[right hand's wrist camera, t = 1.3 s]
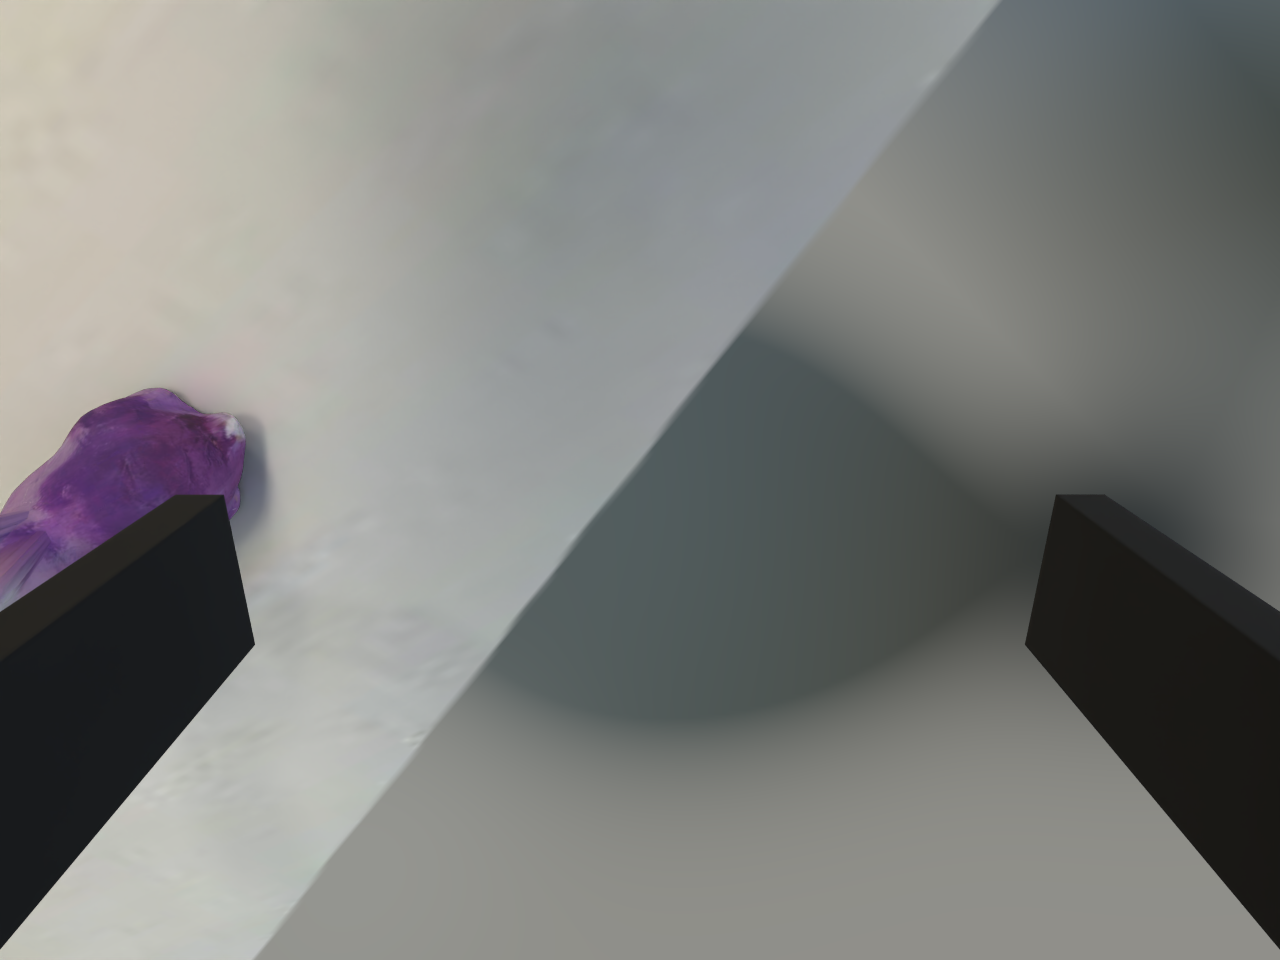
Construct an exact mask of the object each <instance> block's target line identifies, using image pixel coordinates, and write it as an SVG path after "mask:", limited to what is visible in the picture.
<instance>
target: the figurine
mask: <svg viewBox="0 0 1280 960" xmlns="http://www.w3.org/2000/svg"><path fill="white" fill-rule="evenodd" d="M245 445H246V438H245V434H244V431H243V428H242V426H241V424H240V423H239V421H238V420H237V419H236V418H235V417H234V416H232V415H230V414H228V413H225V412H222V413H216V414H202V413H200V412H198V411H196V410H195V409H194V408H193V407H190V406H188V405H187V404H186V403H184V402H183V401H181V400H180V399H179V398H178V397H177V396H176V395H175V394H173V393H172V392H170V391H168V390H166V389H162V388H150V389H144V390H141V391H139V392H137V393H134V394H132V395H130V396H128V397H126V398H122V399H118V400H115V401H112V402H109V403H107V404H104V405H102V406H100V407H98V408H95V409H93V410H91V411H90V412H88V413H86V414H85V415H83V416H82V417H81V418H80V419H79V420H78V422H77V423H76V424H75V425H74V427H73V428H72V429H71V431H70V432H69V434H68V436H67V437H66V439H65V441H64V443H63V444H62V446H61V447H60V449H59V450H58V451H57V452H56V453H55V455H54V456H53V457H51V458H50V459H49V460H48V461H47V462H45V463H44V464H43V465H42V466H41V467H39V468H38V469H37V470H36V471H34V472H33V473H32V474H31V475H29V476H28V477H27V478H26V479H25V480H24V481H23V482H22V483H21V484H20V485H19V486H18V487H17V488H16V489H15V490H14V492H13V493H12V494H11V496H10V497H9V499H8V501H7V502H6V504H5V506H4V507H3V509H2V511H1V513H0V612H1V611H2V610H4V609H5V608H7V607H8V606H10V605H11V604H13V603H14V602H15V601H17V600H18V599H20V598H21V597H23V596H24V595H26V594H27V593H29V592H30V591H32V590H33V589H35V588H36V587H38V586H39V585H41V584H42V583H44V582H45V581H47V580H48V579H50V578H51V577H53V576H54V575H56V574H57V573H59V572H60V571H62V570H63V569H65V568H66V567H68V566H69V565H71V564H72V563H74V562H75V561H77V560H78V559H80V558H81V557H83V556H84V555H86V554H87V553H89V552H90V551H92V550H93V549H95V548H96V547H98V546H99V545H101V544H102V543H104V542H105V541H107V540H108V539H110V538H111V537H113V536H114V535H116V534H117V533H119V532H120V531H122V530H123V529H125V528H126V527H128V526H129V525H131V524H132V523H134V522H135V521H137V520H138V519H140V518H141V517H143V516H144V515H146V514H147V513H149V512H150V511H152V510H153V509H155V508H156V507H158V506H159V505H161V504H162V503H164V502H165V501H167V500H168V499H170V498H171V497H173V496H174V495H224V497H225V502H226V507H227V512H228V516H229V520H230V519H231V518H232V516H233V515H234V514H235V513H236V512H237V511H238V508H239V506H240V490H239V488H238V484H239V481H240V479H241V475H242V471H243V462H244V454H245Z"/></svg>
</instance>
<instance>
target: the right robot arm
mask: <svg viewBox="0 0 1280 960" xmlns="http://www.w3.org/2000/svg"><path fill="white" fill-rule="evenodd" d="M254 645H255V642H254V637H253V632H252V628H251V623H250V618H249V613H248V608H247V603H246V599H245V594H244V589H243V584H242V579H241V574H240V570H239V565H238V560H237V555H236V550H235V545H234V541H233V536H232V531H231V526H230V521H229V516H228V512H227V507H226V502H225V497H224V495H174V496H173V497H171V498H170V499H168V500H167V501H165V502H164V503H162V504H161V505H159V506H158V507H156V508H155V509H153V510H152V511H150V512H149V513H147V514H146V515H144V516H143V517H141V518H140V519H138V520H137V521H135V522H134V523H132V524H131V525H129V526H128V527H126V528H125V529H123V530H122V531H120V532H119V533H117V534H116V535H114V536H113V537H111V538H110V539H108V540H107V541H105V542H104V543H102V544H101V545H99V546H98V547H96V548H95V549H93V550H92V551H90V552H89V553H87V554H86V555H84V556H83V557H81V558H80V559H78V560H77V561H75V562H74V563H72V564H71V565H69V566H68V567H66V568H65V569H63V570H62V571H60V572H59V573H57V574H56V575H54V576H53V577H51V578H50V579H48V580H47V581H45V582H44V583H42V584H41V585H39V586H38V587H36V588H35V589H33V590H32V591H30V592H29V593H27V594H26V595H24V596H23V597H21V598H20V599H18V600H17V601H15V602H14V603H13V604H11V605H10V606H8V607H7V608H5V609H4V610H2V611H1V612H0V949H1V948H2V947H3V945H4V944H5V943H6V942H7V941H8V939H9V938H10V937H11V936H12V935H13V933H14V932H15V931H16V930H17V929H18V927H19V926H20V925H21V924H22V923H23V922H24V920H25V919H26V918H27V917H28V916H29V914H30V913H31V912H32V911H33V910H34V908H35V907H36V906H37V905H38V904H39V902H40V901H41V900H42V899H43V898H44V896H45V895H46V894H47V893H48V892H49V890H50V889H51V888H52V887H53V886H54V884H55V883H56V882H57V881H58V880H59V878H60V877H61V876H62V875H63V874H64V872H65V871H66V870H67V869H68V868H69V866H70V865H71V864H72V863H73V862H74V861H75V859H76V858H77V857H78V856H79V855H80V853H81V852H82V851H83V850H84V849H85V847H86V846H87V845H88V844H89V843H90V841H91V840H92V839H93V838H94V837H95V835H96V834H97V833H98V832H99V831H100V829H101V828H102V827H103V826H104V825H105V823H106V822H107V821H108V820H109V819H110V817H111V816H112V815H113V814H114V813H115V811H116V810H117V809H118V808H119V807H120V805H121V804H122V803H123V802H124V801H125V800H126V798H127V797H128V796H129V795H130V794H131V792H132V791H133V790H134V789H135V788H136V786H137V785H138V784H139V783H140V782H141V780H142V779H143V778H144V777H145V776H146V774H147V773H148V772H149V771H150V770H151V768H152V767H153V766H154V765H155V764H156V762H157V761H158V760H159V759H160V758H161V756H162V755H163V754H164V753H165V752H166V750H167V749H168V748H169V747H170V746H171V744H172V743H173V742H174V741H175V740H176V739H177V737H178V736H179V735H180V734H181V733H182V731H183V730H184V729H185V728H186V727H187V725H188V724H189V723H190V722H191V721H192V719H193V718H194V717H195V716H196V715H197V713H198V712H199V711H200V710H201V709H202V707H203V706H204V705H205V704H206V703H207V701H208V700H209V699H210V698H211V697H212V695H213V694H214V693H215V692H216V691H217V689H218V688H219V687H220V686H221V685H222V683H223V682H224V681H225V680H226V679H227V678H228V676H229V675H230V674H231V673H232V672H233V670H234V669H235V668H236V667H237V666H238V664H239V663H240V662H241V661H242V660H243V658H244V657H245V656H246V655H247V654H248V652H249V651H250V650H251V649H252V648H253V646H254ZM1025 645H1026V646H1027V648H1028V649H1029V650H1030V651H1031V652H1032V654H1033V655H1034V656H1035V657H1036V658H1037V660H1038V661H1039V662H1040V663H1041V664H1042V666H1043V667H1044V668H1045V669H1046V670H1047V672H1048V673H1049V674H1050V675H1051V676H1052V678H1053V679H1054V680H1055V681H1056V682H1057V683H1058V685H1059V686H1060V687H1061V688H1062V689H1063V691H1064V692H1065V693H1066V694H1067V695H1068V697H1069V698H1070V699H1071V700H1072V701H1073V703H1074V704H1075V705H1076V706H1077V707H1078V709H1079V710H1080V711H1081V712H1082V713H1083V715H1084V716H1085V717H1086V718H1087V719H1088V721H1089V722H1090V723H1091V724H1092V725H1093V727H1094V728H1095V729H1096V730H1097V731H1098V733H1099V734H1100V735H1101V736H1102V737H1103V739H1104V740H1105V741H1106V742H1107V743H1108V744H1109V746H1110V747H1111V748H1112V749H1113V750H1114V752H1115V753H1116V754H1117V755H1118V756H1119V758H1120V759H1121V760H1122V761H1123V762H1124V764H1125V765H1126V766H1127V767H1128V768H1129V770H1130V771H1131V772H1132V773H1133V774H1134V776H1135V777H1136V778H1137V779H1138V780H1139V782H1140V783H1141V784H1142V785H1143V786H1144V787H1145V789H1146V790H1147V791H1148V792H1149V794H1150V795H1151V796H1152V797H1153V798H1154V800H1155V801H1156V802H1157V803H1158V804H1159V805H1160V807H1161V808H1162V809H1163V810H1164V811H1165V813H1166V814H1167V815H1168V816H1169V817H1170V819H1171V820H1172V821H1173V822H1174V823H1175V825H1176V826H1177V827H1178V828H1179V829H1180V831H1181V832H1182V833H1183V834H1184V835H1185V837H1186V838H1187V839H1188V840H1189V841H1190V843H1191V844H1192V845H1193V846H1194V847H1195V849H1196V850H1197V851H1198V852H1199V853H1200V854H1201V856H1202V857H1203V858H1204V859H1205V860H1206V862H1207V863H1208V864H1209V865H1210V866H1211V868H1212V869H1213V870H1214V871H1215V872H1216V874H1217V875H1218V876H1219V877H1220V878H1221V880H1222V881H1223V882H1224V883H1225V884H1226V886H1227V887H1228V888H1229V889H1230V890H1231V892H1232V893H1233V894H1234V895H1235V896H1236V898H1237V899H1238V900H1239V901H1240V902H1241V904H1242V905H1243V906H1244V907H1245V908H1246V910H1247V911H1248V912H1249V913H1250V914H1251V916H1252V917H1253V918H1254V919H1255V920H1256V921H1257V923H1258V924H1259V925H1260V926H1261V927H1262V929H1263V930H1264V931H1265V932H1266V933H1267V935H1268V936H1269V937H1270V938H1271V939H1272V941H1273V942H1274V943H1275V944H1276V945H1277V947H1278V948H1279V949H1280V612H1279V611H1278V610H1276V609H1275V608H1273V607H1272V606H1270V605H1269V604H1267V603H1266V602H1264V601H1263V600H1261V599H1260V598H1258V597H1257V596H1255V595H1254V594H1253V593H1251V592H1250V591H1248V590H1246V589H1245V588H1244V587H1242V586H1240V585H1239V584H1238V583H1236V582H1235V581H1233V580H1232V579H1230V578H1229V577H1227V576H1226V575H1224V574H1223V573H1221V572H1220V571H1218V570H1217V569H1215V568H1214V567H1212V566H1211V565H1209V564H1208V563H1206V562H1205V561H1203V560H1202V559H1200V558H1199V557H1197V556H1196V555H1194V554H1193V553H1191V552H1190V551H1188V550H1187V549H1185V548H1184V547H1182V546H1181V545H1179V544H1178V543H1176V542H1175V541H1173V540H1172V539H1170V538H1169V537H1167V536H1166V535H1164V534H1163V533H1161V532H1160V531H1158V530H1157V529H1155V528H1154V527H1152V526H1151V525H1149V524H1148V523H1146V522H1145V521H1143V520H1142V519H1140V518H1139V517H1137V516H1136V515H1134V514H1133V513H1131V512H1130V511H1128V510H1127V509H1125V508H1124V507H1122V506H1121V505H1119V504H1118V503H1116V502H1115V501H1113V500H1112V499H1110V498H1109V497H1107V496H1106V495H1056V497H1055V502H1054V507H1053V512H1052V517H1051V521H1050V526H1049V531H1048V536H1047V541H1046V545H1045V550H1044V555H1043V560H1042V565H1041V570H1040V575H1039V579H1038V584H1037V589H1036V594H1035V599H1034V604H1033V608H1032V613H1031V618H1030V623H1029V628H1028V633H1027V637H1026V642H1025Z"/></svg>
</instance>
